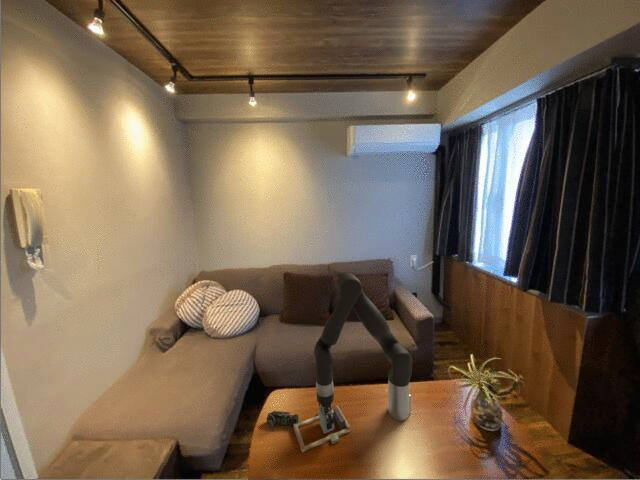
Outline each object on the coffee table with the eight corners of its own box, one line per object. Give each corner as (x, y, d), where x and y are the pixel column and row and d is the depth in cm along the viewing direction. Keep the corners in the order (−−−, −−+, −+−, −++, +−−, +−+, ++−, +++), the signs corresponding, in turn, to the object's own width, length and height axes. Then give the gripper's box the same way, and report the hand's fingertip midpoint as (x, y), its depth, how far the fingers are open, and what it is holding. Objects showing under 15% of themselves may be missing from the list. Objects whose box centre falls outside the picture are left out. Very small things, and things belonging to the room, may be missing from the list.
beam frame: (336, 406, 123) (335, 399, 123) (352, 435, 108) (352, 427, 108) (292, 423, 115) (291, 415, 115) (303, 456, 100) (303, 448, 100)
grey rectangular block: (329, 420, 116) (329, 405, 114) (334, 429, 111) (333, 413, 110) (319, 424, 114) (318, 409, 113) (324, 433, 109) (323, 417, 108)
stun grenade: (298, 421, 117) (269, 419, 119) (298, 408, 116) (268, 406, 118) (295, 433, 111) (264, 430, 112) (295, 419, 110) (264, 417, 112)
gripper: (340, 398, 104) (341, 433, 107) (326, 376, 117) (327, 408, 120) (323, 404, 101) (325, 440, 104) (311, 381, 115) (313, 414, 117)
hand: (326, 423), depth 112 cm, fingers closed on grey rectangular block, 5 cm apart
